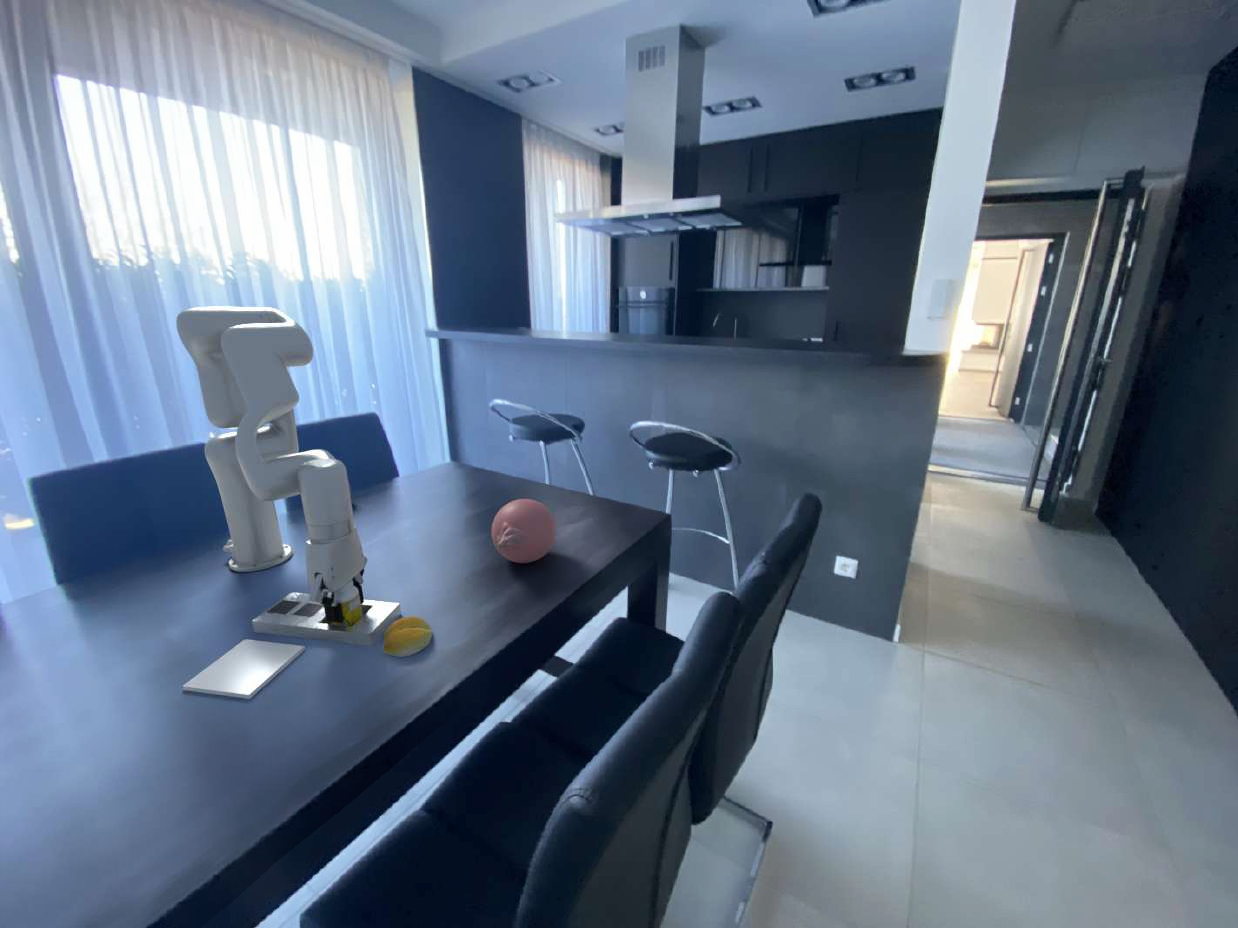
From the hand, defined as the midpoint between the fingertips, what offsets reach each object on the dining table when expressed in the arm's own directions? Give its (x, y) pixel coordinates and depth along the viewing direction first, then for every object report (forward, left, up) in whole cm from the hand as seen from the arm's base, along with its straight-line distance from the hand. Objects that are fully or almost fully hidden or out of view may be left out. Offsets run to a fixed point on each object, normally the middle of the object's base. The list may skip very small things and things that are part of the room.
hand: (345, 611), depth 98 cm
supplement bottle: (0, 0, -3) cm, 3 cm away
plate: (-9, -14, -3) cm, 17 cm away
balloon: (+25, +29, -3) cm, 38 cm away
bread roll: (+14, -3, -3) cm, 15 cm away
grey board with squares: (-4, 0, -3) cm, 5 cm away
